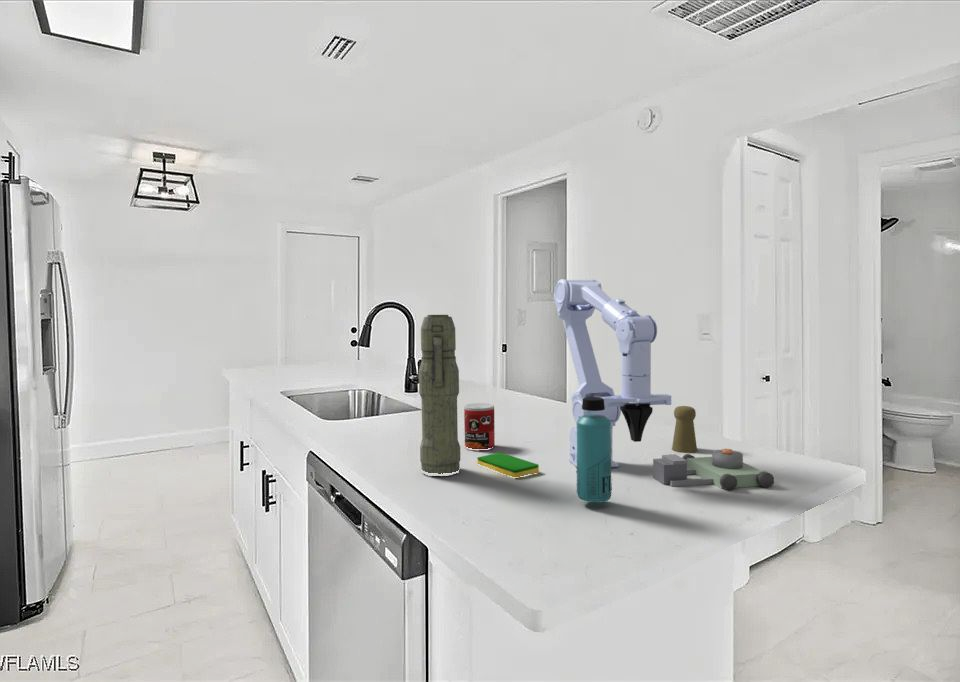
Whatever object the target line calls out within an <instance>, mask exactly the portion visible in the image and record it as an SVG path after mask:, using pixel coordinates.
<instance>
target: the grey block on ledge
mask: <svg viewBox="0 0 960 682" xmlns="http://www.w3.org/2000/svg"><path fill="white" fill-rule="evenodd" d="M652 461H653V462H652V478H653V479H655V480H656V481H657V482H660V483H661V484H662V485H670V480H686V479H688V475H687V460H685V459H683V458H682V457H681V456H679V455H678V454H662V455H661V458H653V459H652Z"/></svg>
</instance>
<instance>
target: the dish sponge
mask: <svg viewBox="0 0 960 682" xmlns="http://www.w3.org/2000/svg"><path fill="white" fill-rule="evenodd" d="M476 459H477V464H480V465H482V466H485V467H488V468H490V469H493V470H495V471H498V472H500V473H503V474H506V475H509V476H512V477H520V476H524V475H528V474H534V473H538V472H539V468H540V466H539V464H538V463H534V462H531V461H527V460H525V459H522V458H519V457H515V456H513V455H509V454H506V453H503V452H497V453H492V454H487V455H482V456H479V457H477V458H476Z"/></svg>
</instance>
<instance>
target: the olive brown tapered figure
mask: <svg viewBox="0 0 960 682" xmlns="http://www.w3.org/2000/svg"><path fill="white" fill-rule="evenodd" d="M696 415H697V411H696V409H695V408H694V407H692V406H688V405H679V406H677V407H675V408H674V410H673V416H674V418H675V426H674V432H673V433H674V434H673V439H672V445H671V450H672V451H673V452H676V453H683V454H692V453H693V454H694V453H697V452H698V447H697V441H696V439H697V438H696V431H695V422H694V421H695V419H696Z"/></svg>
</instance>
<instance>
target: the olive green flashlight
mask: <svg viewBox="0 0 960 682" xmlns="http://www.w3.org/2000/svg"><path fill="white" fill-rule="evenodd" d="M421 323H422V324H421V327H420V350H421V358H420V360H421V362H420V365H419V368H418V388H419V389H418V390H419V391H418V392H419V396H420V398H421V432H422V433H421V436H422V437H421V438H422V439H421V442H420V446H419V458H420V464H421V467H420V468H421V469H422V470H423V471H425V472H428V473H438V474H441V473H442V474H443V473H452V472H456V471H458V470H459V468H461V467H460V465H461V464H460V462H461V445H460V442H459V437H458V436H459V433H458V431H459V430H458V396H459V394H460V370H459V367H458V363H457V356H456V350H457V349H456V347H457V346H456V344H457V343H456V326H455V323H454V321H453V317H452V316H449V314H427V315H426V316H424V317H423V319H422V322H421Z"/></svg>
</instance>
